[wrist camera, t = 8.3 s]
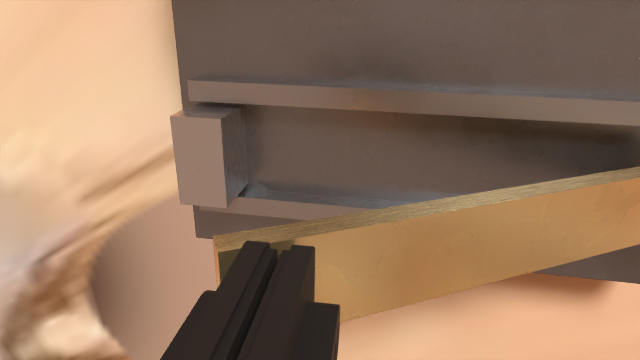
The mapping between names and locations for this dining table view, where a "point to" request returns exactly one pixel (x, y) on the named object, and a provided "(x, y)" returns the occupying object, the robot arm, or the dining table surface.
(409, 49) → the heatsink block
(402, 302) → the brass strap
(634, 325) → the dining table surface
